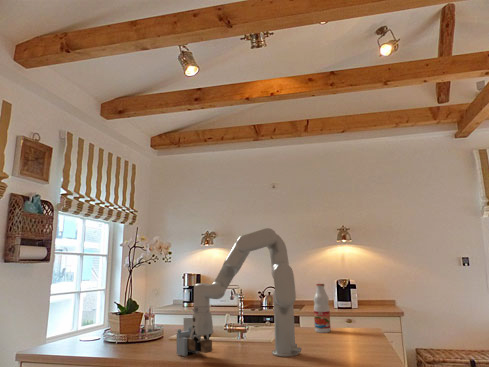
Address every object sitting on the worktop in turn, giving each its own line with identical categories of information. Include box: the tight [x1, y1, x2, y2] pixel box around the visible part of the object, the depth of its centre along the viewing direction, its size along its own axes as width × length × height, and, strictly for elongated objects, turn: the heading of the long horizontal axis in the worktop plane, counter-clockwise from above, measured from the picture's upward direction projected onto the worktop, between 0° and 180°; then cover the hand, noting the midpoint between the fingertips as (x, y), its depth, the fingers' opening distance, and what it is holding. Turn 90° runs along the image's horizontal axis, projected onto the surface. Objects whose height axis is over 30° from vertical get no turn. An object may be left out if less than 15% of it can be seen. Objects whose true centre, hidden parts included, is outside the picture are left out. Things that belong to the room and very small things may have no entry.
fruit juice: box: [313, 283, 331, 334], centre depth 247 cm, size 9×9×28 cm
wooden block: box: [184, 336, 213, 354], centre depth 194 cm, size 16×4×5 cm, turn 48°
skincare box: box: [183, 315, 202, 338], centre depth 216 cm, size 8×6×15 cm
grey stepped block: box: [176, 327, 200, 357], centre depth 199 cm, size 6×9×12 cm
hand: (201, 349), depth 192 cm, fingers closed on wooden block, 4 cm apart
